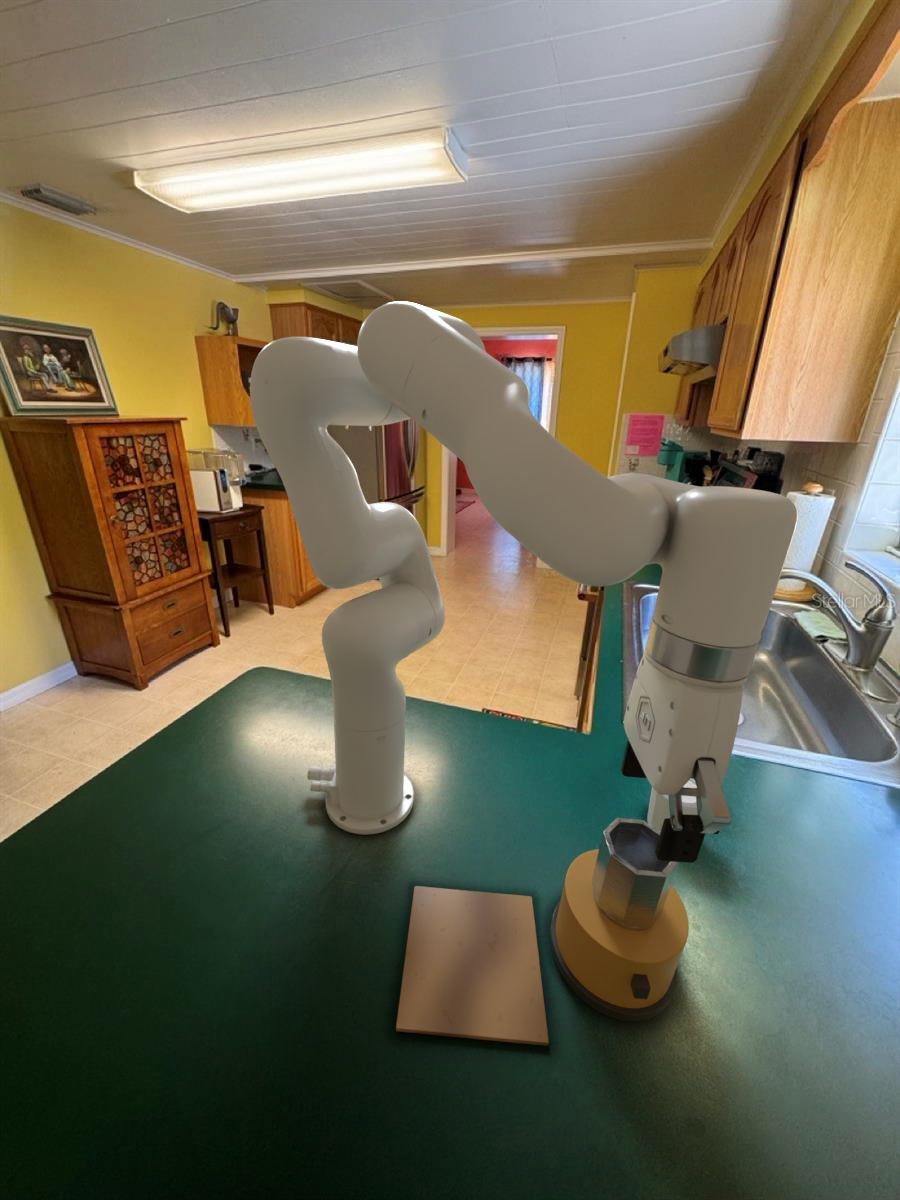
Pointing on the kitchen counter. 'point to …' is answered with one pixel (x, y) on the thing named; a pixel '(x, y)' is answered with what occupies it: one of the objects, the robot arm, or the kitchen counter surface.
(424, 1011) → the cork mat
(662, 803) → the white lidded canister
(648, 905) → the silver cup
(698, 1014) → the kitchen counter surface
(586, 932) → the yellow blender base
